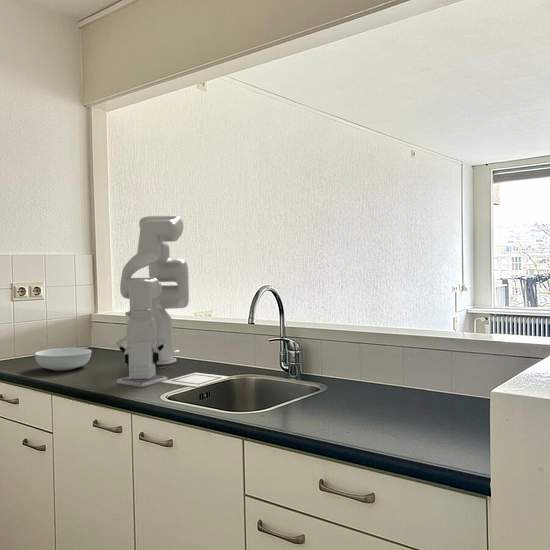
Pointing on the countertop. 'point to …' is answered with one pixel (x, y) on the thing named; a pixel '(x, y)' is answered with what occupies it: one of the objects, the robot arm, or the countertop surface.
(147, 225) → the robot arm
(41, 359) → the serving bowl
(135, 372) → the supplement box
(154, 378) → the ink pad
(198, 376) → the print sheet
